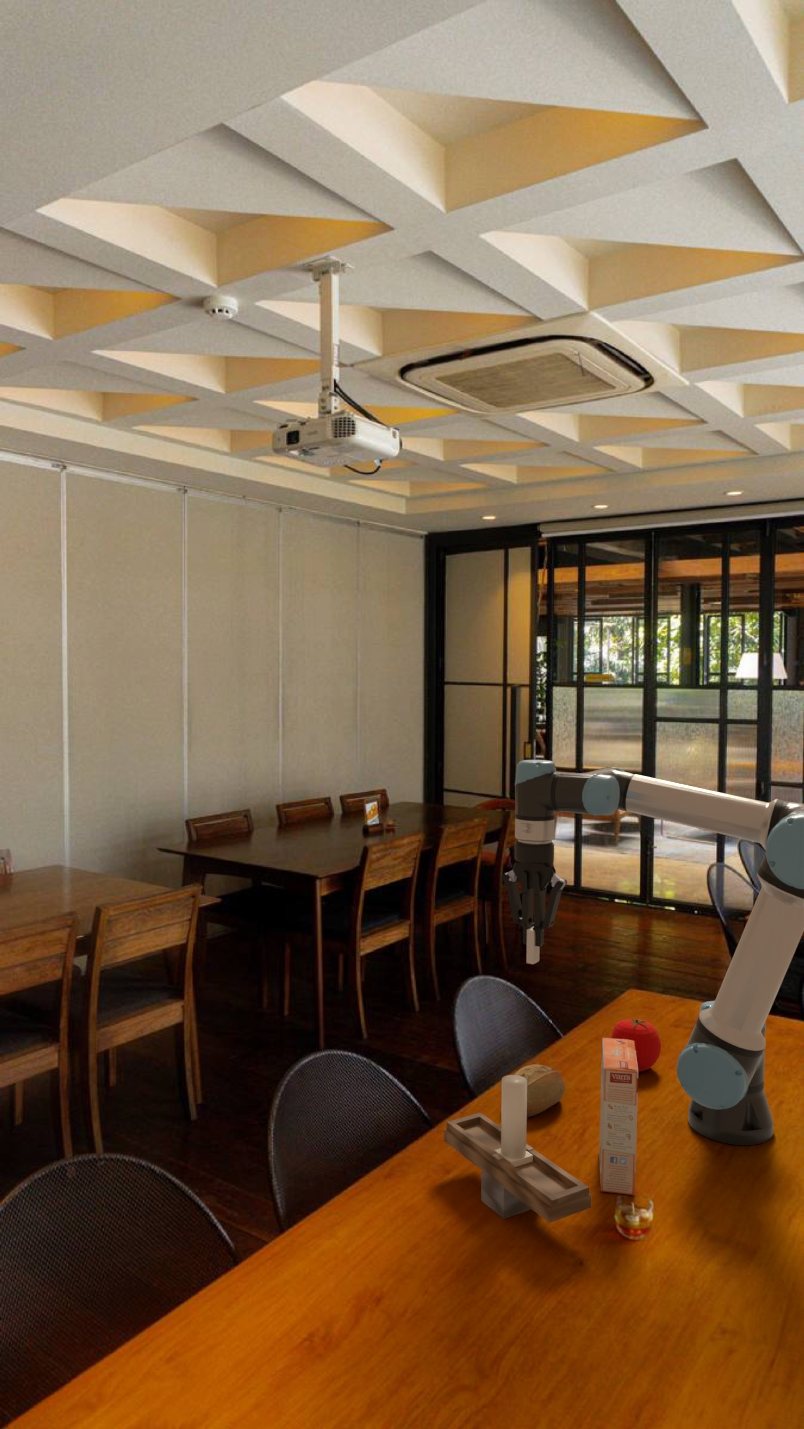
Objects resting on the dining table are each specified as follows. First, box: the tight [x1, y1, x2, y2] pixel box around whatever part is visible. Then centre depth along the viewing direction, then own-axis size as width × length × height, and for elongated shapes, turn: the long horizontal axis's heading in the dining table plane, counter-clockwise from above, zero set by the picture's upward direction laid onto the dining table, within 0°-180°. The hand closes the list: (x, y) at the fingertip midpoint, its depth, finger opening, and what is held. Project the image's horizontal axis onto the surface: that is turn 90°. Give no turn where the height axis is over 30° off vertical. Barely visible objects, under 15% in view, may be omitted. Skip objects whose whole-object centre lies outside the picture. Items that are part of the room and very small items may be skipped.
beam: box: [443, 1112, 592, 1224], centre depth 151 cm, size 28×8×8 cm, turn 31°
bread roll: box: [513, 1063, 566, 1118], centre depth 185 cm, size 10×15×8 cm, turn 138°
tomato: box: [610, 1017, 662, 1073], centre depth 204 cm, size 10×11×11 cm
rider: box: [494, 1074, 533, 1167], centre depth 151 cm, size 4×4×13 cm
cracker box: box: [598, 1037, 639, 1196], centre depth 160 cm, size 14×6×21 cm, turn 169°
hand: (532, 961), depth 182 cm, fingers closed
